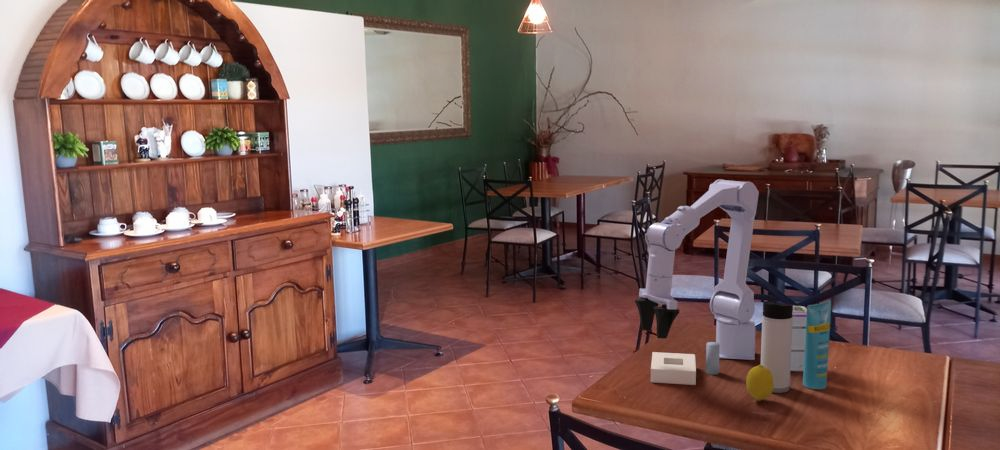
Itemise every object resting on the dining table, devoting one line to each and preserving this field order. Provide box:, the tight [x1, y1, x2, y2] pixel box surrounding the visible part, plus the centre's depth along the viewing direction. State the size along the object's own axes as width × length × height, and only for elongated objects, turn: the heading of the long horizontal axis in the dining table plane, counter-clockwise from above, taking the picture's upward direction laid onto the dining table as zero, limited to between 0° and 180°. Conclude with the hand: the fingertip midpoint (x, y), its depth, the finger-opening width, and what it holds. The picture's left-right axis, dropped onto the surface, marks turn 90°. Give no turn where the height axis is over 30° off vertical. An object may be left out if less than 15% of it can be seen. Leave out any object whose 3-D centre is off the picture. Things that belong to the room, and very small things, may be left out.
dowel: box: [705, 341, 720, 376], centre depth 180 cm, size 3×3×7 cm
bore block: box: [650, 351, 697, 386], centre depth 179 cm, size 10×12×3 cm
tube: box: [802, 300, 832, 390], centre depth 169 cm, size 7×5×19 cm, turn 123°
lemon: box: [745, 364, 774, 402], centre depth 163 cm, size 6×6×8 cm
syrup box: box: [790, 305, 807, 372], centre depth 182 cm, size 6×6×14 cm
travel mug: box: [760, 301, 794, 394], centre depth 168 cm, size 6×7×20 cm
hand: (653, 333), depth 176 cm, fingers open, 7 cm apart
